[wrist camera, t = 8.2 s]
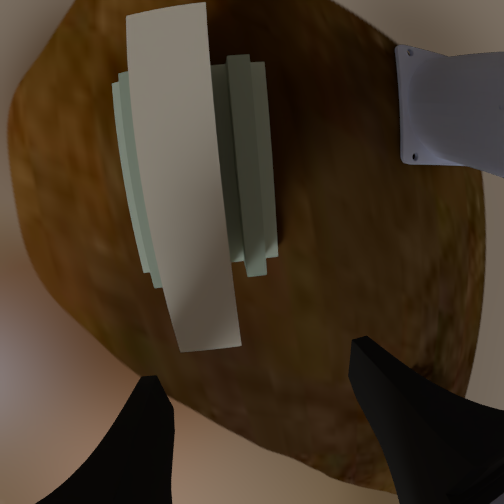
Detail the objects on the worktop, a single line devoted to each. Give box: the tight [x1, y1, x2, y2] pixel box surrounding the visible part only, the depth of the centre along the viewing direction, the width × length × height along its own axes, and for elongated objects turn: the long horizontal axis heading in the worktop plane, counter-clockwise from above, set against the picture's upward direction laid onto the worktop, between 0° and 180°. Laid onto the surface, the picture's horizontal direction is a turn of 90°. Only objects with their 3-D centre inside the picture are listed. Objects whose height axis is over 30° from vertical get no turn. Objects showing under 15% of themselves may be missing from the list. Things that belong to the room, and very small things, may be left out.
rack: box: [112, 54, 278, 288], centre depth 15 cm, size 8×11×3 cm
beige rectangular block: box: [126, 2, 241, 352], centre depth 12 cm, size 12×2×7 cm, turn 5°
